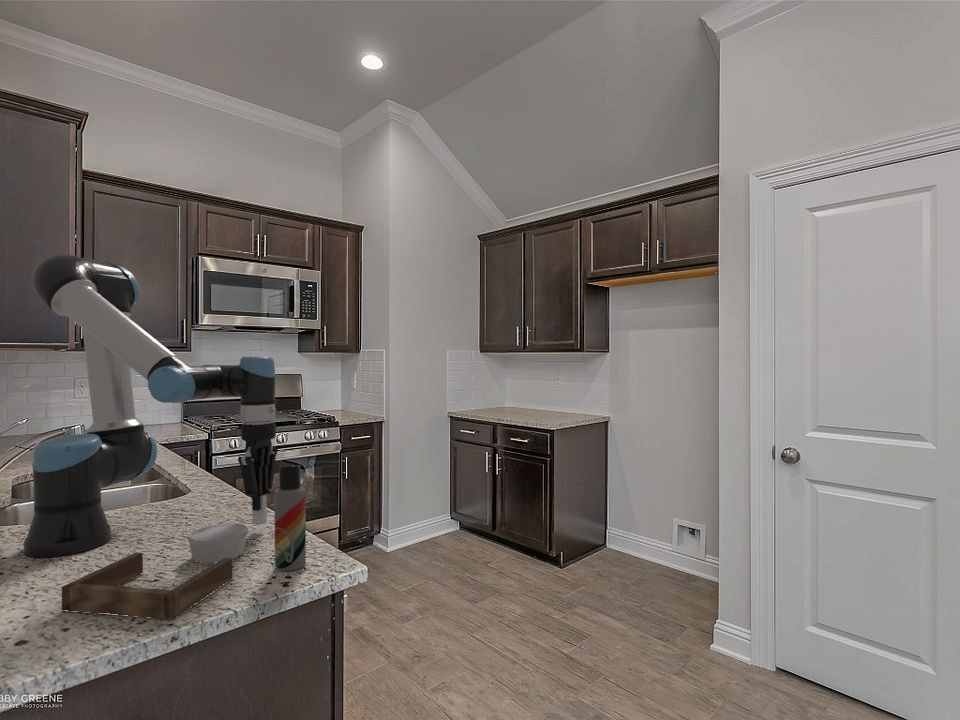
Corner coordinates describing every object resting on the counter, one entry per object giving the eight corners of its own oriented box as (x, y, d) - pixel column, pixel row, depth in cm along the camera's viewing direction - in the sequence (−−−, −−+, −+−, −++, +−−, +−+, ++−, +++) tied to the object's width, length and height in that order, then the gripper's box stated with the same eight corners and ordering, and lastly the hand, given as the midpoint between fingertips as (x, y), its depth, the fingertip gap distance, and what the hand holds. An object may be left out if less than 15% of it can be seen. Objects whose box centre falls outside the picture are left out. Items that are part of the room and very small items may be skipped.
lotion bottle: (275, 574, 101) (274, 468, 101) (274, 563, 106) (273, 463, 106) (307, 569, 103) (306, 466, 103) (304, 558, 108) (303, 460, 108)
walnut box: (61, 611, 86) (61, 586, 86) (135, 573, 101) (135, 552, 101) (173, 620, 83) (172, 594, 83) (232, 579, 98) (232, 558, 98)
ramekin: (206, 546, 116) (206, 522, 116) (257, 546, 116) (257, 522, 116) (175, 567, 105) (175, 540, 105) (231, 567, 104) (231, 540, 104)
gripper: (257, 426, 118) (258, 532, 118) (287, 419, 131) (288, 515, 131) (226, 425, 119) (227, 531, 119) (259, 418, 132) (260, 514, 132)
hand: (259, 522), depth 125 cm, fingers closed
